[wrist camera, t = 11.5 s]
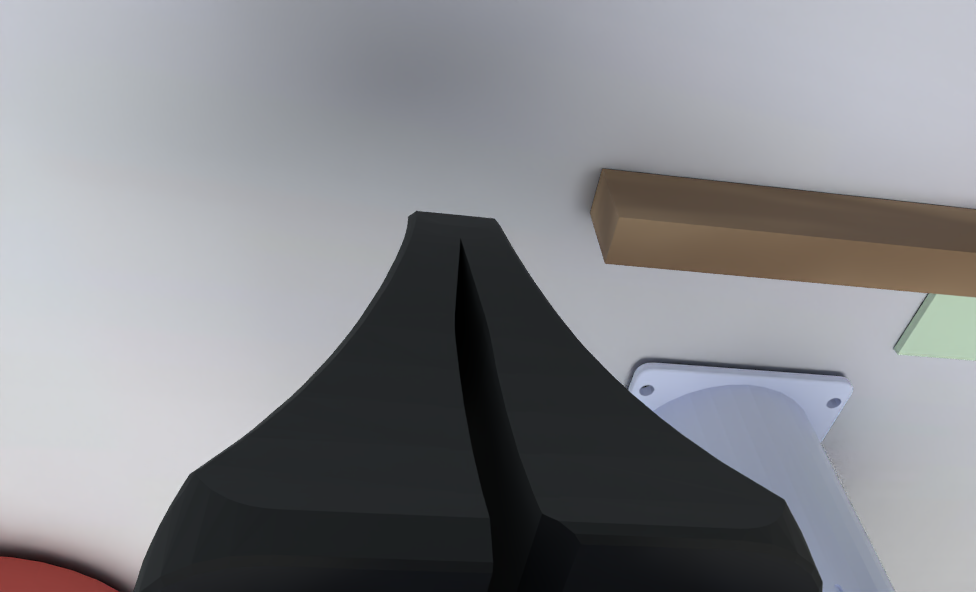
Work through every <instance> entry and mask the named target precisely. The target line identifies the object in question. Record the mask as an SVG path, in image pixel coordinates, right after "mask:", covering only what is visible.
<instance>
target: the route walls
mask: <svg viewBox="0 0 976 592" xmlns="http://www.w3.org/2000/svg"><path fill="white" fill-rule="evenodd" d="M590 215H591V218H592V222H593V225H594V228H595V232H596V235H597V239H598V242H599V245H600V249H601V252H602V255H603V259H604V262H605V264H615V265H626V266H637V267H648V268H659V269H670V270H681V271H691V272H702V273H713V274H724V275H735V276H746V277H757V278H768V279H779V280H790V281H801V282H812V283H822V284H833V285H844V286H855V287H866V288H877V289H888V290H899V291H910V292H921V293H932V294H943V295H954V296H964V297H975V298H976V210H975V209H966V208H957V207H948V206H939V205H930V204H920V203H911V202H902V201H893V200H884V199H875V198H866V197H857V196H847V195H838V194H829V193H820V192H811V191H802V190H793V189H784V188H774V187H765V186H756V185H747V184H738V183H729V182H720V181H711V180H701V179H692V178H683V177H674V176H665V175H656V174H647V173H638V172H628V171H619V170H610V169H602V172H601V175H600V179H599V182H598V186H597V190H596V193H595V197H594V200H593V204H592V208H591V211H590Z"/></svg>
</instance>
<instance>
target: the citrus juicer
mask: <svg viewBox="0 0 976 592" xmlns="http://www.w3.org/2000/svg"><path fill="white" fill-rule="evenodd" d="M0 592H119V591H117V590H115V589H113V588H111V587H110V586H108V585H106V584H104V583H102V582H100V581H98V580H96V579H93V578H91V577H88V576H86V575H83V574H80V573H78V572H75V571H73V570H69V569H66V568H62V567H58V566H54V565H51V564H47V563H43V562H38V561H31V560H25V559H19V558H13V557H0Z"/></svg>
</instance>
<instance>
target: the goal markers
mask: <svg viewBox="0 0 976 592" xmlns="http://www.w3.org/2000/svg"><path fill="white" fill-rule="evenodd" d="M894 350H895V351H896V353H897V354H898V355H909V356H922V357H934V358H947V359H960V360H972V361H976V298H975V297H964V296H954V295H943V294H932V293H929V294H928V296H927V297H926V299H925V300H924V302H923V304H922V305H921V307H920V308H919V310H918V311H917V313H916V315H915V316H914V318H913V319H912V321H911V322H910V324H909V326H908V327H907V329H906V330H905V332H904V333H903V335H902V337H901V338H900V340H899V341H898V343H897V344H896V346H895V347H894Z"/></svg>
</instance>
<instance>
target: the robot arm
mask: <svg viewBox="0 0 976 592" xmlns="http://www.w3.org/2000/svg"><path fill="white" fill-rule="evenodd" d="M645 385H649V386H648V387H644V388H641V387H643V386H645ZM852 392H853V386H852V384H851V382H850V381H849V379H847V378H846V377H842V376H829V375H816V374H802V373H789V372H775V371H761V370H748V369H734V368H721V367H707V366H693V365H680V364H666V363H645V364H643V365H641V366H639V367H638V368H637V369H636V371H635V373H634V375H633V378H632V381H631V383H630V386H629V389H628V390H627V389H626V388H625V387H624V386H623V385H622V384H621V383H620V382H619V381H618V380H616V379H615V378H614V377H613V376H612V375H611V374H610V373H609V372H608V371H607V370H606V369H605V368H604V367H603V366H602V365H601V363H600V362H599V361H598V360H597V359H596V358H595V357H594V356H593V355H592V354H591V353H590V352H589V351H588V350H587V349H586V348H585V347H584V346H583V345H582V344H581V342H580V341H579V340H578V339H577V338H576V336H575V335H574V334H573V333H572V332H571V330H570V329H569V328H568V327H567V325H566V324H565V323H564V322H563V320H562V319H561V318H560V317H559V315H558V314H557V313H556V311H555V310H554V309H553V307H552V306H551V305H550V303H549V302H548V300H547V299H546V297H545V296H544V295H543V293H542V292H541V290H540V289H539V288H538V286H537V285H536V283H535V282H534V280H533V279H532V277H531V276H530V274H529V273H528V271H527V270H526V268H525V267H524V265H523V263H522V262H521V260H520V259H519V257H518V256H517V254H516V252H515V251H514V249H513V247H512V246H511V244H510V242H509V240H508V239H507V237H506V235H505V233H504V232H503V230H502V228H501V226H500V225H499V224H498V222H497V221H496V220H495V219H493V218H482V217H472V216H462V215H452V214H442V213H431V212H421V211H416V212H414V213H413V214H412V215H410V216H409V217H408V225H407V230H406V234H405V237H404V240H403V243H402V245H401V247H400V250H399V252H398V254H397V257H396V259H395V261H394V263H393V265H392V266H391V268H390V270H389V272H388V274H387V276H386V278H385V280H384V282H383V284H382V285H381V287H380V289H379V290H378V292H377V293H376V295H375V296H374V298H373V300H372V301H371V303H370V304H369V306H368V307H367V309H366V310H365V312H364V313H363V315H362V316H361V318H360V319H359V321H358V322H357V323H356V325H355V326H354V327H353V329H352V330H351V331H350V333H349V334H348V335H347V337H346V338H345V339H344V340H343V342H342V343H341V344H340V345H339V346H338V348H337V349H336V350H335V351H334V352H333V354H332V355H331V356H330V357H329V358H328V359H327V360H326V361H325V363H324V364H323V365H322V366H321V367H320V368H319V369H318V370H317V371H316V372H315V373H314V374H313V375H312V376H311V377H310V379H309V380H308V381H307V382H306V383H305V384H304V385H303V386H302V387H301V388H300V389H299V390H298V391H296V392H295V393H294V394H293V395H292V396H291V397H290V398H289V399H288V400H287V401H285V402H284V403H283V404H282V405H281V406H280V407H278V408H277V409H276V410H275V411H274V412H273V413H271V414H270V415H269V416H268V417H267V418H266V419H264V420H263V421H262V422H261V423H260V424H259V425H257V426H256V427H255V428H254V429H253V430H251V431H250V432H249V433H247V434H246V435H245V436H244V437H242V438H241V439H240V440H238V441H237V442H235V443H234V444H232V445H231V446H230V447H228V448H227V449H225V450H224V451H222V452H221V453H220V454H218V455H217V456H215V457H214V458H212V459H211V460H210V461H208V462H207V463H205V464H204V465H202V466H201V467H200V468H198V469H197V470H195V471H194V472H192V473H191V474H190V475H189V476H188V478H187V479H186V481H185V482H184V484H183V486H182V487H181V489H180V490H179V492H178V494H177V495H176V497H175V499H174V500H173V502H172V504H171V505H170V507H169V509H168V511H167V513H166V514H165V516H164V518H163V520H162V522H161V524H160V525H159V527H158V529H157V532H156V534H155V536H154V538H153V540H152V542H151V544H150V547H149V549H148V551H147V553H146V556H145V558H144V560H143V563H142V566H141V569H140V572H139V576H138V579H137V582H136V585H135V588H134V592H895V590H894V588H893V586H892V584H891V582H890V580H889V578H888V576H887V574H886V572H885V570H884V568H883V566H882V564H881V562H880V560H879V558H878V556H877V554H876V552H875V550H874V548H873V546H872V544H871V542H870V540H869V538H868V536H867V534H866V532H865V530H864V528H863V526H862V524H861V522H860V520H859V518H858V516H857V514H856V512H855V510H854V508H853V506H852V504H851V502H850V500H849V498H848V496H847V495H846V493H845V491H844V489H843V487H842V485H841V483H840V481H839V479H838V477H837V475H836V473H835V471H834V469H833V467H832V465H831V463H830V461H829V459H828V457H827V455H826V453H825V451H824V449H823V447H822V445H821V442H822V441H823V439H824V438H825V436H826V434H827V433H828V431H829V430H830V428H831V426H832V425H833V423H834V422H835V420H836V418H837V417H838V415H839V414H840V412H841V410H842V409H843V407H844V406H845V404H846V402H847V401H848V399H849V398H850V396H851V394H852Z"/></svg>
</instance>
